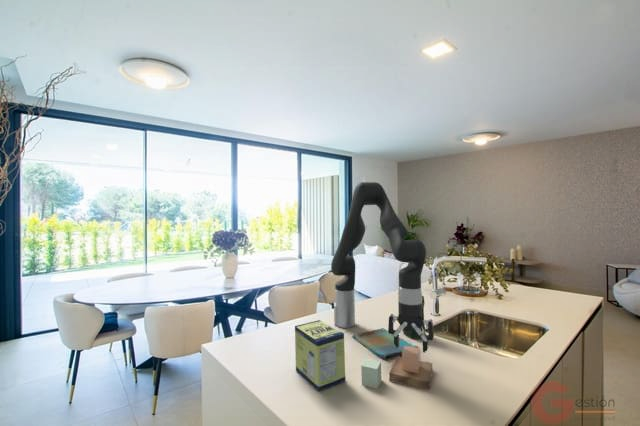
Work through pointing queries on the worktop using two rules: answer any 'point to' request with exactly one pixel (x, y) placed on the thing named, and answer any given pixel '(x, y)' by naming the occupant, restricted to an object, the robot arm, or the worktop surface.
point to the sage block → (371, 373)
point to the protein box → (320, 354)
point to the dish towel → (381, 343)
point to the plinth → (411, 374)
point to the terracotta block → (411, 359)
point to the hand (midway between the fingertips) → (410, 349)
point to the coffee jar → (416, 335)
